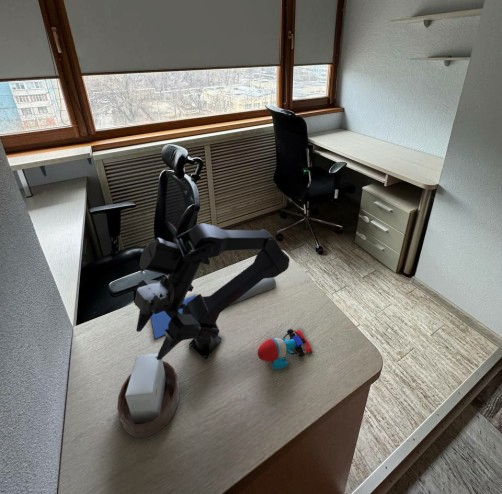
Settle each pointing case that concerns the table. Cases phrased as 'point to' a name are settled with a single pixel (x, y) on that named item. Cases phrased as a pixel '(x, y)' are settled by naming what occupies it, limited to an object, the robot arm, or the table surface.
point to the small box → (146, 388)
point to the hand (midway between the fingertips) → (148, 344)
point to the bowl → (166, 410)
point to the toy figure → (282, 348)
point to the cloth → (164, 320)
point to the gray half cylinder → (258, 288)
